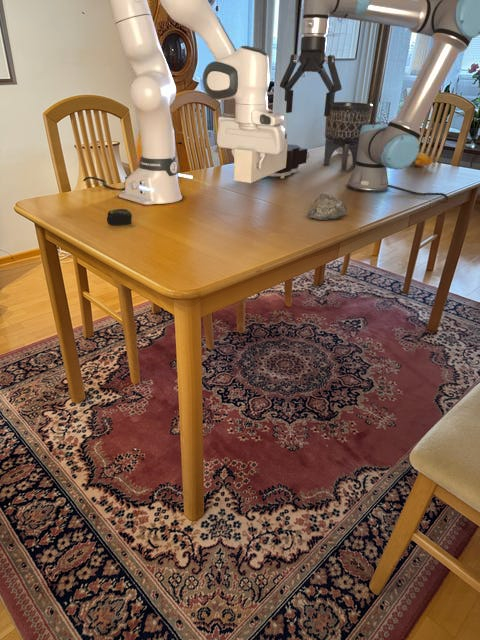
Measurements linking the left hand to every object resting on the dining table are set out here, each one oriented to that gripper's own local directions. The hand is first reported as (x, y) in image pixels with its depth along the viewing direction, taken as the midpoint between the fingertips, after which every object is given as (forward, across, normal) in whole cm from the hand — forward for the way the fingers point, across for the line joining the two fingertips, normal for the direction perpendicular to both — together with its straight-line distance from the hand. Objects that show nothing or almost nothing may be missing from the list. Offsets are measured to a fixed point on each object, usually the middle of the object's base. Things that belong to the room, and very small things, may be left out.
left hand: (249, 167), depth 132 cm
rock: (+16, +21, +17) cm, 31 cm away
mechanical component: (+16, -17, +65) cm, 69 cm away
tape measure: (+16, -29, -24) cm, 41 cm away
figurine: (+15, -8, +127) cm, 128 cm away
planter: (+15, +1, +93) cm, 94 cm away
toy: (+15, +32, +118) cm, 123 cm away
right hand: (-12, +6, +29) cm, 32 cm away
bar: (+3, 0, +9) cm, 9 cm away
